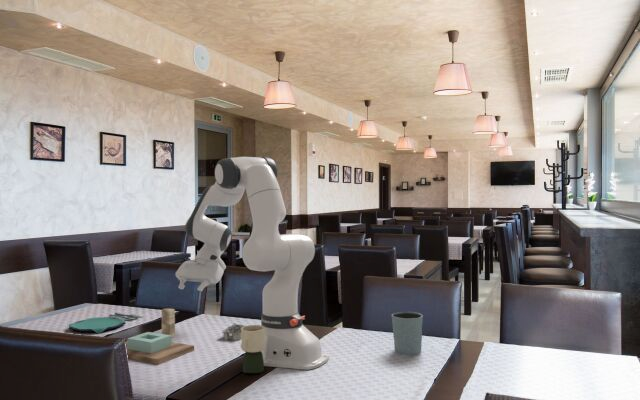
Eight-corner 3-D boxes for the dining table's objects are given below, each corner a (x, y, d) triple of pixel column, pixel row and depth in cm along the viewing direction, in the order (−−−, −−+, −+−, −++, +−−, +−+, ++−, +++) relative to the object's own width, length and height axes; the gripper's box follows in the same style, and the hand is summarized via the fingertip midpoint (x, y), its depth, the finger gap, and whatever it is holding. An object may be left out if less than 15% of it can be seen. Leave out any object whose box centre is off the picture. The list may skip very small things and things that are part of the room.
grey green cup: (422, 356, 165) (422, 319, 164) (390, 355, 167) (390, 317, 167) (422, 347, 175) (422, 311, 174) (392, 345, 177) (392, 310, 176)
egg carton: (238, 342, 184) (238, 330, 184) (219, 340, 186) (219, 328, 186) (252, 334, 194) (252, 323, 194) (234, 332, 196) (234, 321, 196)
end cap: (171, 345, 173) (171, 335, 173) (151, 353, 165) (151, 342, 165) (148, 341, 178) (148, 331, 178) (127, 349, 170) (127, 338, 170)
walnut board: (194, 350, 173) (194, 345, 173) (159, 364, 159) (159, 359, 159) (141, 341, 184) (141, 337, 184) (104, 353, 170) (104, 349, 170)
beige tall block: (174, 336, 191) (174, 309, 190) (170, 337, 188) (169, 310, 188) (166, 334, 192) (166, 308, 192) (161, 336, 190) (161, 309, 190)
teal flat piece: (57, 332, 198) (57, 325, 198) (113, 315, 227) (113, 310, 227) (99, 337, 192) (99, 330, 192) (151, 319, 220) (151, 314, 220)
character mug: (252, 364, 158) (252, 322, 158) (273, 367, 155) (272, 324, 155) (232, 376, 148) (232, 331, 148) (254, 380, 145) (254, 333, 145)
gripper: (182, 254, 212) (165, 282, 203) (222, 257, 203) (206, 286, 194) (189, 264, 216) (173, 291, 207) (229, 267, 207) (214, 296, 198)
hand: (189, 289), depth 201 cm, fingers open, 8 cm apart
